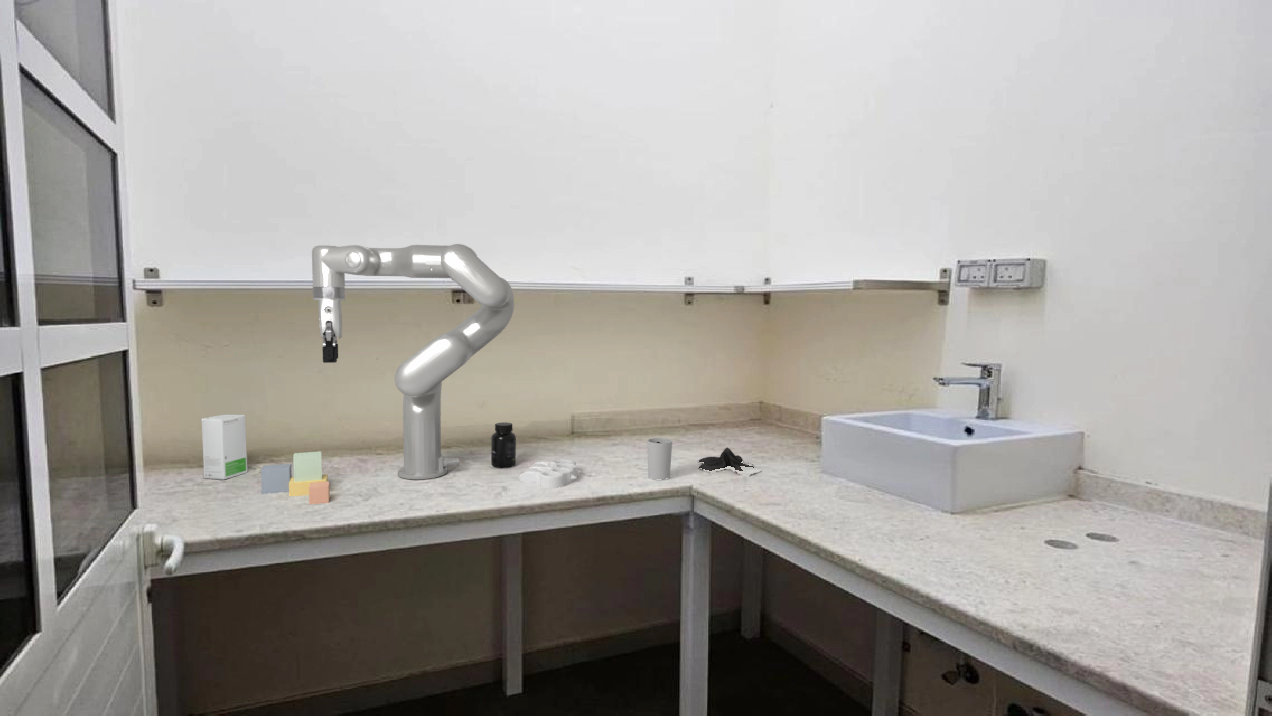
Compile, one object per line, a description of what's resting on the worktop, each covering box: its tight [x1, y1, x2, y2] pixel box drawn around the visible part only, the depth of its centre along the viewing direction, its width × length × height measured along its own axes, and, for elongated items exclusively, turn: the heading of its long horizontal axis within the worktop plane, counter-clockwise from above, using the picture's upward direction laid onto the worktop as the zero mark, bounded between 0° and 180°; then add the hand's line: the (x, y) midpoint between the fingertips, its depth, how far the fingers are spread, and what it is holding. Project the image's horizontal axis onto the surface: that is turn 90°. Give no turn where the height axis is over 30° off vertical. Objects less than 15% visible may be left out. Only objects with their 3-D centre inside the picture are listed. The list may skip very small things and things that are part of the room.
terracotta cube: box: [308, 481, 331, 505], centre depth 155 cm, size 4×4×4 cm
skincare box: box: [201, 414, 248, 480], centre depth 175 cm, size 8×7×16 cm
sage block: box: [292, 450, 323, 482], centre depth 162 cm, size 6×4×6 cm, turn 116°
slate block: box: [260, 463, 293, 495], centre depth 163 cm, size 6×4×6 cm, turn 111°
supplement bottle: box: [490, 421, 517, 469], centre depth 190 cm, size 7×7×12 cm
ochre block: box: [288, 473, 329, 497], centre depth 163 cm, size 8×6×4 cm
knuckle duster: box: [518, 458, 583, 489], centre depth 178 cm, size 3×18×15 cm
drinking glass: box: [647, 437, 673, 480], centre depth 180 cm, size 7×7×10 cm
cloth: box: [698, 447, 755, 471], centre depth 194 cm, size 22×19×6 cm
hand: (330, 360), depth 175 cm, fingers open, 9 cm apart
